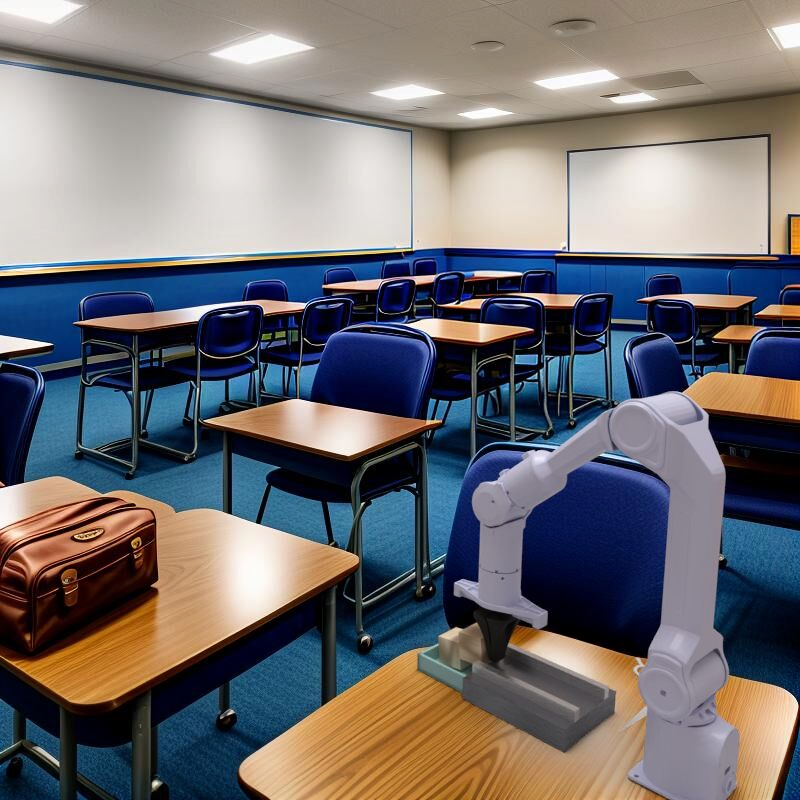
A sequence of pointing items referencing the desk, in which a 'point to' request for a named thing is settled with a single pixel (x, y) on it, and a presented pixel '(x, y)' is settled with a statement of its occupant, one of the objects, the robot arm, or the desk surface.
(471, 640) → the block
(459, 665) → the block
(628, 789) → the desk surface
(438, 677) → the tray
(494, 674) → the slot board
